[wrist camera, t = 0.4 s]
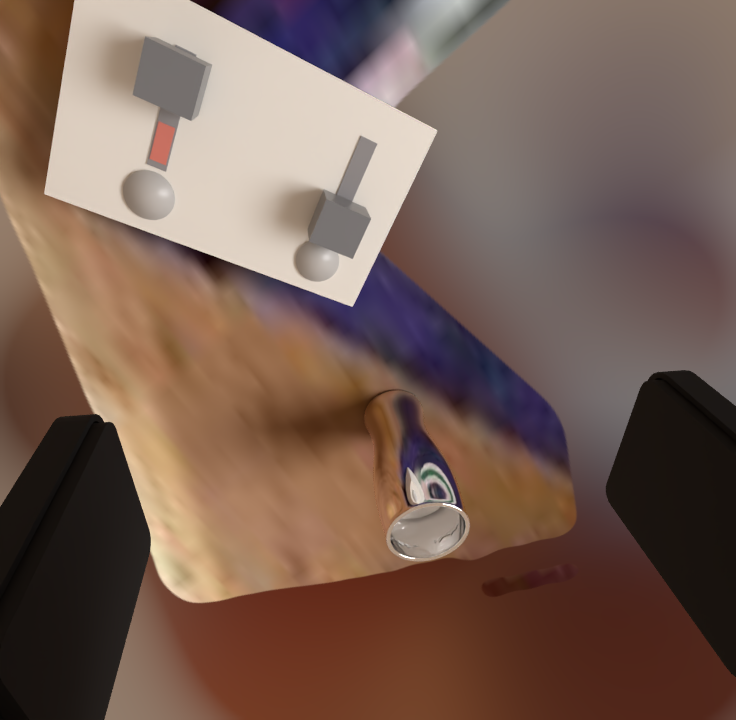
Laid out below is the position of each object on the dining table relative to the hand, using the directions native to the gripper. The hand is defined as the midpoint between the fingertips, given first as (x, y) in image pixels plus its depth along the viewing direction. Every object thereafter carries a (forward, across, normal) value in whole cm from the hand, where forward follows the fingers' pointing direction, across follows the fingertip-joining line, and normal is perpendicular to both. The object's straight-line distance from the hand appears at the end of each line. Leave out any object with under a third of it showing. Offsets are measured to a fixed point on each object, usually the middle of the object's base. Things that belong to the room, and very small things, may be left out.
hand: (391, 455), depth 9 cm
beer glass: (+33, -7, +25) cm, 42 cm away
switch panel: (+33, +5, 0) cm, 33 cm away
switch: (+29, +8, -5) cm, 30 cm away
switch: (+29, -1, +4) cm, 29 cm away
